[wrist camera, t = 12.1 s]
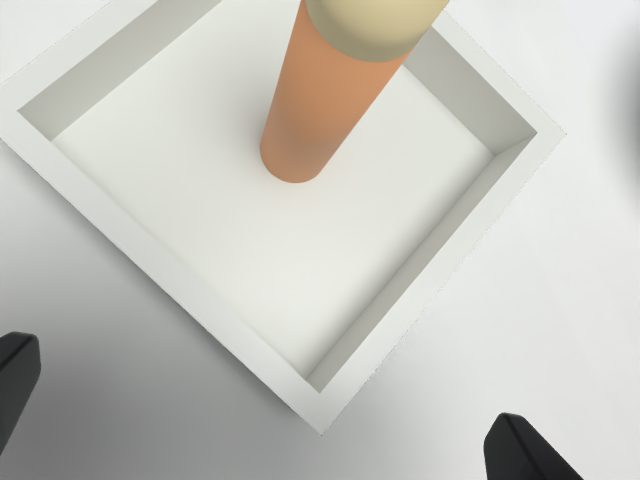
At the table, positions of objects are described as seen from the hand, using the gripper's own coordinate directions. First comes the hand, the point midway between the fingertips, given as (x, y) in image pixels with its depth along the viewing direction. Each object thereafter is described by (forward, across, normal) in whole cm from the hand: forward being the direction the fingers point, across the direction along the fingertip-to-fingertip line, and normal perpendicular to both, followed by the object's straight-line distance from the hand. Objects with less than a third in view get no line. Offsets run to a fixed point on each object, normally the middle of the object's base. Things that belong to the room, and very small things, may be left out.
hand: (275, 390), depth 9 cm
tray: (+14, 0, +1) cm, 15 cm away
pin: (+14, 0, 0) cm, 14 cm away
